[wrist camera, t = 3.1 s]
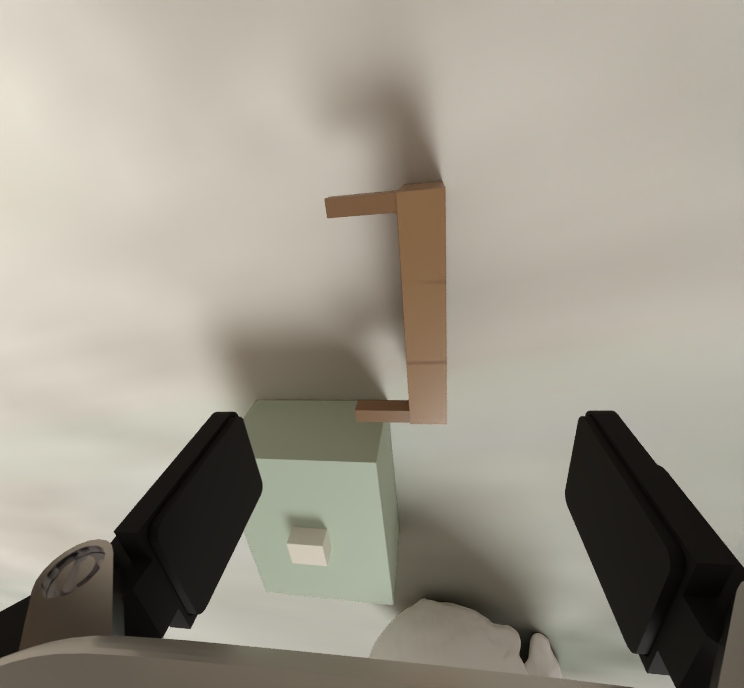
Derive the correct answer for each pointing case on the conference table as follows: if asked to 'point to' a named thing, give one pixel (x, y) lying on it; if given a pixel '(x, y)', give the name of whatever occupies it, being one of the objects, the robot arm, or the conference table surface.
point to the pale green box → (323, 501)
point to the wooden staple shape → (413, 297)
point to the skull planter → (461, 641)
